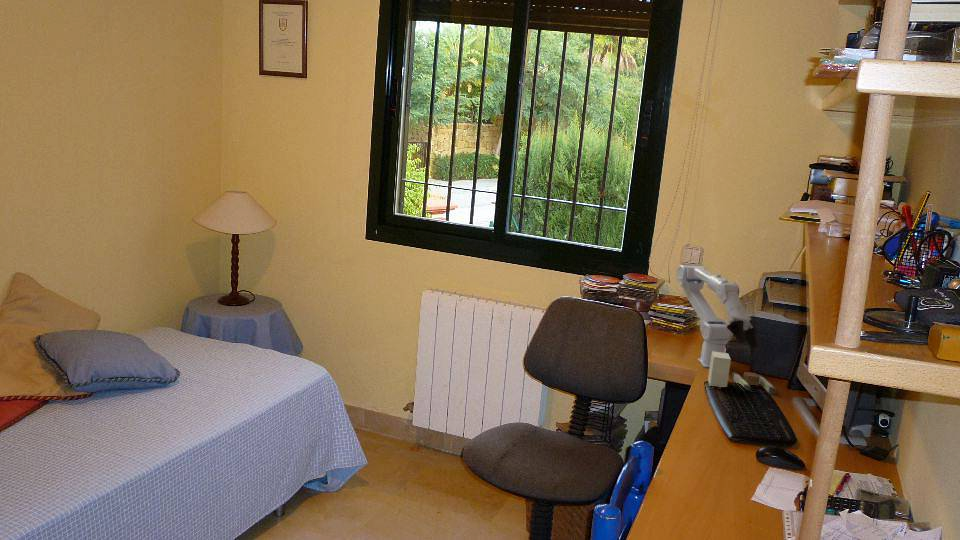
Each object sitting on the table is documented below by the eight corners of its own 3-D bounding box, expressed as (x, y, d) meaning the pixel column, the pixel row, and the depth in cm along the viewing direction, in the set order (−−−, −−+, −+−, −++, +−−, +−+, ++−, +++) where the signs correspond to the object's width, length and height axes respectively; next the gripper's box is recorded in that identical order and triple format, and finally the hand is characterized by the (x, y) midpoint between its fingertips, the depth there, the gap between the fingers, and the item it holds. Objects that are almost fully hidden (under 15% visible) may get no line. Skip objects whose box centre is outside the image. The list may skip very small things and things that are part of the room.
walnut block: (742, 381, 277) (744, 372, 276) (754, 382, 277) (755, 373, 276) (746, 385, 273) (747, 375, 272) (758, 386, 273) (759, 376, 272)
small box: (726, 389, 265) (731, 359, 264) (709, 387, 266) (713, 356, 265) (724, 382, 273) (728, 353, 271) (707, 380, 274) (712, 350, 272)
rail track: (731, 377, 280) (732, 372, 279) (760, 380, 280) (760, 375, 279) (745, 391, 265) (746, 386, 265) (775, 394, 265) (776, 388, 265)
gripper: (734, 300, 274) (747, 333, 266) (756, 312, 283) (769, 345, 275) (717, 310, 278) (729, 343, 270) (739, 321, 287) (751, 354, 279)
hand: (748, 345), depth 273 cm, fingers open, 7 cm apart
